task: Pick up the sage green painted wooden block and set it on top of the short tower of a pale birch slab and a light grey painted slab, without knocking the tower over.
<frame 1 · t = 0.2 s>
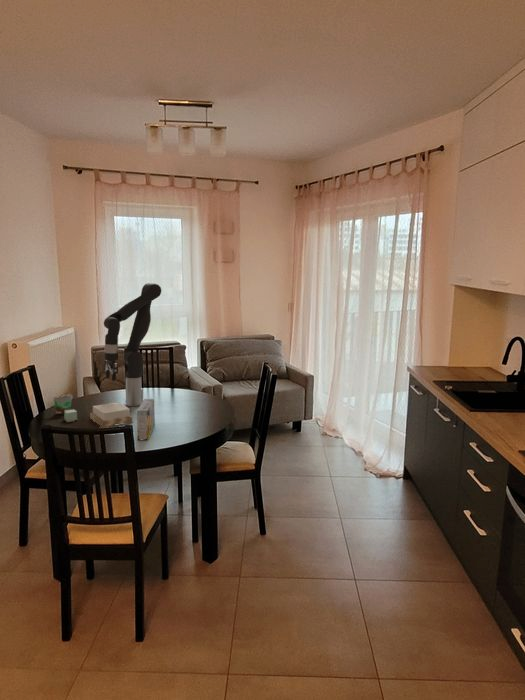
hand: (110, 379, 262), 17 cm above the table, tool pointing down, fingers open, 8 cm apart
tower top slab: (111, 414, 242), point 3 cm above the table, touching tower bottom slab
food container: (66, 412, 254), on the table
sage block: (70, 420, 241), on the table
tower bottom slab: (111, 421, 242), on the table, touching tower top slab
snack box: (146, 433, 225), on the table
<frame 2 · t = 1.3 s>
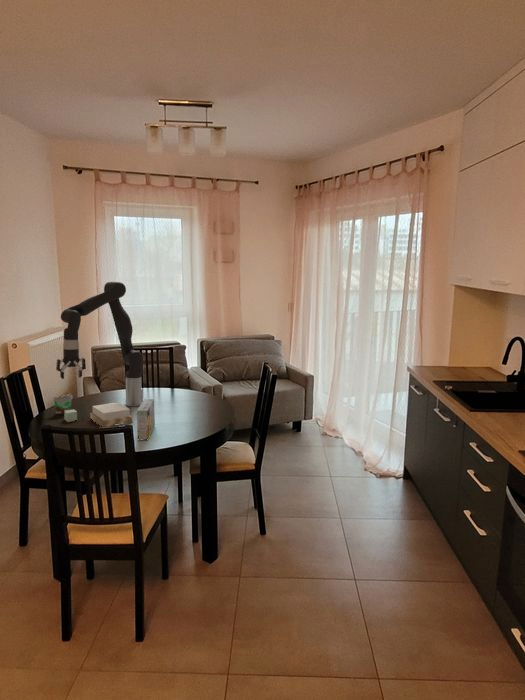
hand: (71, 378, 239), 23 cm above the table, tool pointing down, fingers open, 8 cm apart
nothing on the table moved.
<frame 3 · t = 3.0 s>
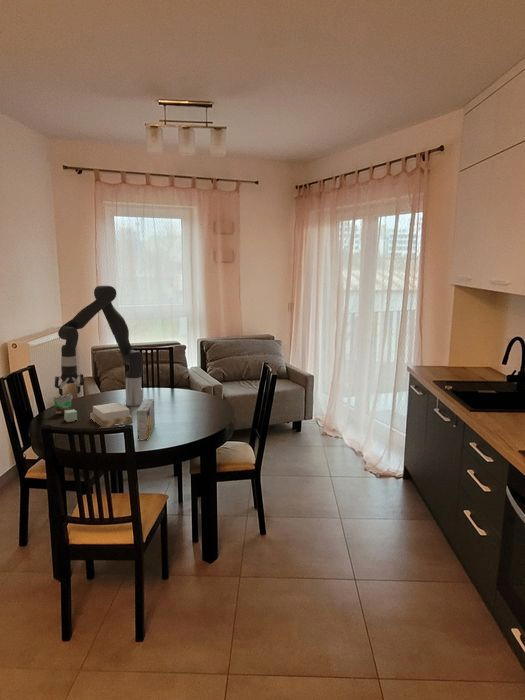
hand: (69, 394, 239), 14 cm above the table, tool pointing down, fingers open, 8 cm apart
nothing on the table moved.
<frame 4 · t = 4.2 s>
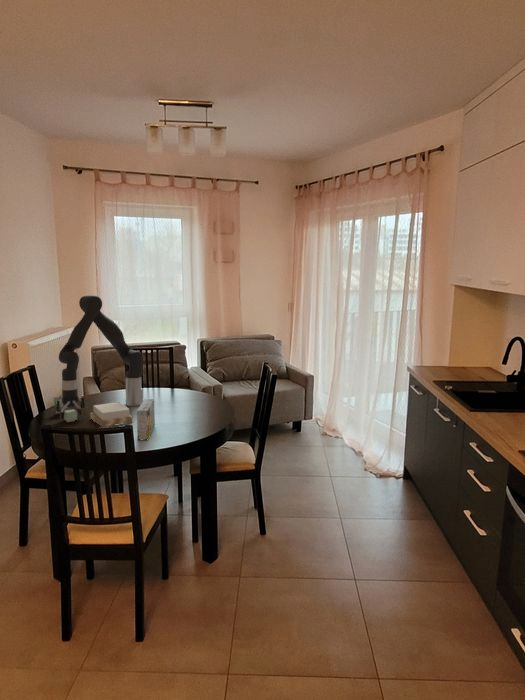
hand: (70, 417, 241), 1 cm above the table, tool pointing down, fingers open, 8 cm apart
nothing on the table moved.
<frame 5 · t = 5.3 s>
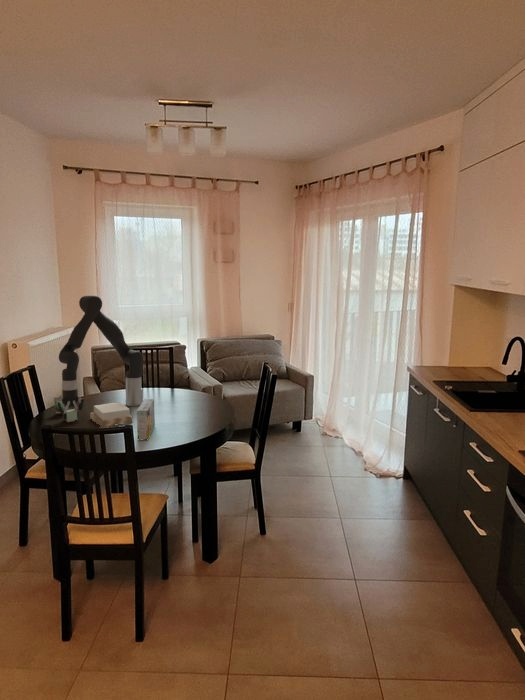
hand: (70, 418, 241), 1 cm above the table, tool pointing down, fingers closed on sage block, 5 cm apart
sage block: (70, 419, 241), on the table, touching gripper
everything else where it was.
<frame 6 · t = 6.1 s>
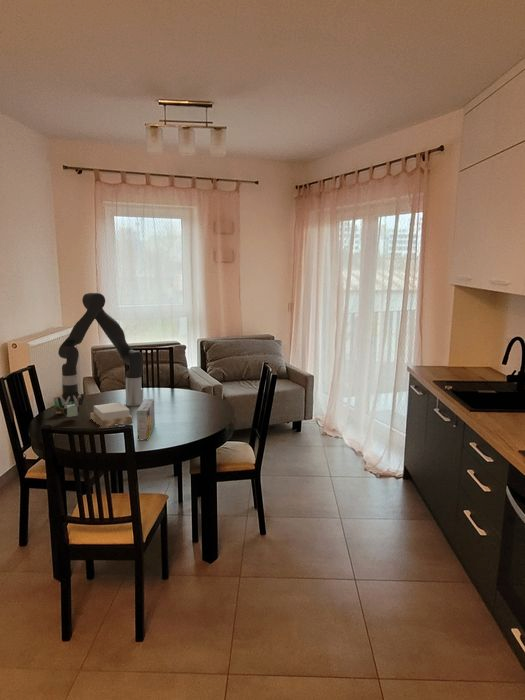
hand: (71, 413, 241), 3 cm above the table, tool pointing down, fingers closed on sage block, 5 cm apart
sage block: (71, 415, 241), point 3 cm above the table, touching gripper
everything else where it was.
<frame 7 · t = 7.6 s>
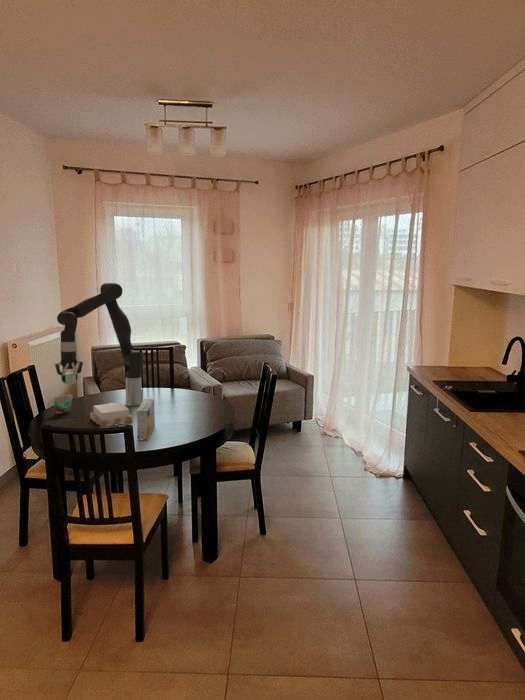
hand: (69, 381, 238), 21 cm above the table, tool pointing down, fingers closed on sage block, 5 cm apart
sage block: (69, 382, 238), point 20 cm above the table, touching gripper
everything else where it was.
when the fingers open (10 cm above the table, at t = 12.7 s): sage block drops 2 cm, resting on tower top slab.
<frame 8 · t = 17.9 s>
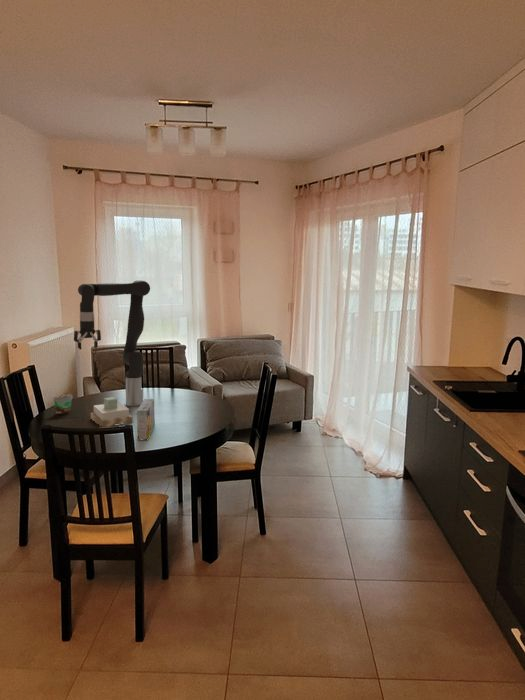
hand: (87, 348, 254), 36 cm above the table, tool pointing down, fingers open, 8 cm apart
tower top slab: (111, 414, 242), point 3 cm above the table, touching sage block, tower bottom slab
sage block: (110, 407, 241), point 7 cm above the table, touching tower top slab
everything else where it was.
at the end: sage block inside the target area on the tower top slab (0.6 cm from its centre), point 4.0 cm above the tower top slab's base; tower top slab 0.1 cm off-centre on the tower bottom slab, point 4.0 cm above the tower bottom slab's base; sage block tilted 0° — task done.
